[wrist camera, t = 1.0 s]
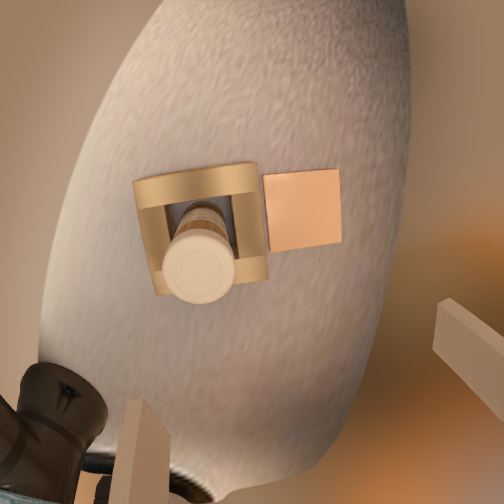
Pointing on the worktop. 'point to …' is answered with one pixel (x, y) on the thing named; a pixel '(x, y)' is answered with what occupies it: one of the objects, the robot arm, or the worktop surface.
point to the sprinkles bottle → (200, 256)
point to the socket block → (199, 187)
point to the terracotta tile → (302, 209)
